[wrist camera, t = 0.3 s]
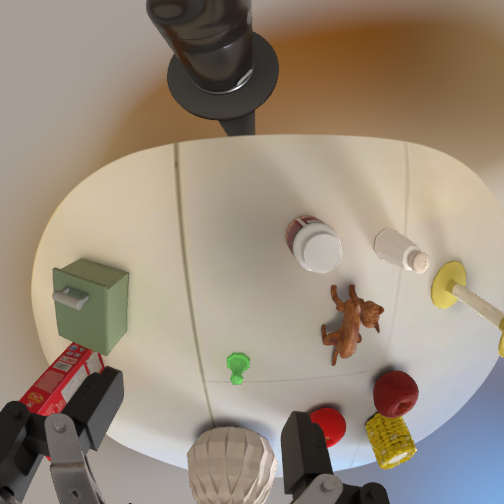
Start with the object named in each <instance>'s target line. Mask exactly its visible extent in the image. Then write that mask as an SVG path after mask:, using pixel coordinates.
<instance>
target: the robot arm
mask: <svg viewBox="0 0 504 504" xmlns="http://www.w3.org/2000/svg"><path fill="white" fill-rule="evenodd" d="M251 9H252V8H251V0H147V1H146V11H147V14H148V16H149V18H150V20H151V21H152V23H153V24H154V25H155V27H156V28H157V29H158V31H159V32H160V34H161V35H162V36H163V38H164V39H165V40H166V42H167V43H168V45H169V46H170V48H171V49H172V50H173V52H174V53H175V55H176V56H177V58H178V59H179V61H180V62H181V64H182V65H183V67H184V68H185V70H186V71H187V73H188V74H189V76H190V78H191V80H192V82H193V83H194V84H195V86H196V87H197V88H199V89H200V90H201V91H203V92H205V93H208V94H212V95H226V94H230V93H233V92H236V91H238V90H239V89H241V88H242V87H244V86H245V85H246V84H247V83H248V82H249V80H250V79H251V77H252V74H253V71H254V60H253V36H252V10H251ZM123 397H124V386H123V373H122V371H120V370H117V369H115V368H112V367H109V366H106V367H105V368H104V370H103V371H102V373H101V374H99V373H97V372H94V373H92V374H90V375H89V376H87V377H86V378H85V379H84V381H83V382H82V384H81V385H80V386H79V388H78V389H77V391H76V392H75V393H74V394H73V396H72V397H71V399H70V400H69V401H68V403H67V404H66V405H65V407H64V408H63V410H62V411H61V412H60V413H53V414H51V415H49V416H43V415H40V414H36V413H32V412H29V409H28V408H27V406H26V405H25V404H24V403H22V402H20V401H11V402H9V403H7V404H6V405H5V407H4V408H3V409H2V411H1V412H0V504H22V501H23V499H24V496H25V494H26V492H27V490H28V488H29V485H30V483H31V481H32V479H33V477H34V475H35V473H36V471H37V468H38V466H39V464H40V462H41V460H42V458H43V456H44V455H45V456H48V457H50V458H51V465H50V471H51V475H52V479H53V483H54V487H55V490H56V493H57V496H58V500H59V502H60V504H106V503H105V501H104V498H103V496H102V494H101V492H100V490H99V488H98V485H97V483H96V480H95V478H94V475H93V472H92V469H91V467H90V464H89V461H88V457H87V455H86V454H87V452H88V450H89V449H92V450H95V451H97V450H98V448H99V446H100V444H101V442H102V440H103V438H104V436H105V434H106V432H107V430H108V428H109V426H110V424H111V422H112V420H113V418H114V417H115V415H116V413H117V411H118V409H119V407H120V405H121V403H122V401H123ZM281 450H282V463H283V477H284V490H285V494H292V495H293V500H292V501H291V502H290V503H289V504H390V503H389V499H388V496H387V492H386V489H385V488H384V487H383V486H382V485H381V484H378V483H375V482H371V483H367V484H365V485H364V486H363V487H358V486H351V485H347V484H344V483H342V482H341V480H340V479H339V478H337V477H336V476H334V474H333V471H332V466H331V462H330V457H329V453H328V448H327V444H326V441H325V435H324V431H323V430H322V428H321V427H320V426H319V424H318V423H312V421H311V416H310V413H309V412H300V411H293V412H292V413H291V415H290V417H289V418H288V420H287V422H286V424H285V426H284V428H283V430H282V433H281ZM129 504H131V503H129Z"/></svg>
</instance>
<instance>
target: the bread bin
mask: <svg viewBox="0 0 504 504" xmlns="http://www.w3.org/2000/svg"><path fill="white" fill-rule="evenodd" d="M61 270H64V271H66V272H69V273H72V274H75V275H78V276H81V277H83V278H86V279H89V280H92V281H95V282H98V283H101V284H104V285H107V327H108V348H109V353H110V352H111V350H112V349H113V348H114V346H115V345H116V344H117V342H118V341H119V340H120V339H121V337H122V336H123V335H124V333H125V332H126V327H127V293H128V276H129V273H127V272H123V271H120V270H116V269H113V268H110V267H106V266H103V265H100V264H96V263H93V262H90V261H87V260H84V259H79V260H77V261H75V262H73V263H71V264H69V265H68V266H66V267H64V268H62V269H61Z"/></svg>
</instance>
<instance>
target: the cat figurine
mask: <svg viewBox="0 0 504 504" xmlns="http://www.w3.org/2000/svg"><path fill="white" fill-rule="evenodd" d="M336 288H337V286H336V285H332V286H331V295H332V299H333V301H334V302H335V303H336V305H337V307H336V309H337V310H338V311H343V313H344V317H343V321H342V326H341V327H340V329H339V330H338V331H336V332H333V333H329V334H328V335H326V331H325V325H323V326H322V341H323V345H334V346H336V347H337V348H336V349H335V351H334V354H333V359H332V366H334V365H335V364H336V359H337V355H338V353H339V354H340V356H341V357H342V358H348V357H350V356H351V355H352V354H354V353H355V351H356V344H357V343H360V342H361V341H362V338H361V335H360V333H359V329H360V323H361V322H362V324H363V325H364V326H365V327H367V328H374V327H375V328H376V330H377V332H378V333H379V332H380V330H379V324H378V320H379V315H380V314H382V313H383V312H384V308H383V307H381V306H379V305H377V304H375V303H374V302H372V301H366V302H365V303H364V300H363V299H361V298H358V297H357V295H356V292H355V285H350V286H349V296H350V298H351V299H348V300H347V301H346V302H345V303H343V302H342V301H341V299H339V298H338V296H337V291H336Z"/></svg>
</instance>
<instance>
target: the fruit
mask: <svg viewBox="0 0 504 504" xmlns="http://www.w3.org/2000/svg"><path fill="white" fill-rule="evenodd" d="M310 416H311V421H312V423H318V424H319V426H320V427H321V428H322V430H323V431H324V435H325V441H326V444H327V448H328V447H331V446H333V445H335V444H336V443H337V442H338V441H340V440H341V438H342V437H343V436H344V434H345V432H346V422H345V419H344V418H343V416H342V415H341V413H339V412H338V411H337V410H335V409H333V408H321V409H319V410H317V411H315V412H313V413H311V414H310Z"/></svg>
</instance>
